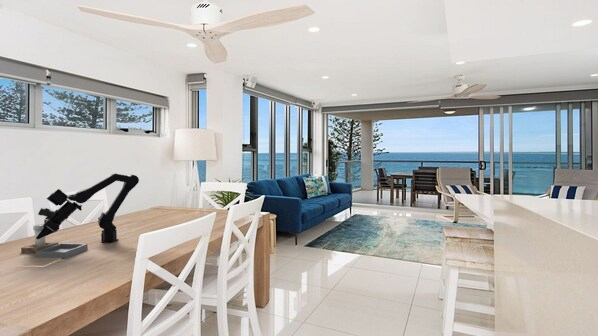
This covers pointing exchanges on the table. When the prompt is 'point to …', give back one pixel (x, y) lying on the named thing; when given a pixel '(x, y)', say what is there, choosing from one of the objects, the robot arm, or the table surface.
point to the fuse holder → (34, 249)
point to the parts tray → (62, 250)
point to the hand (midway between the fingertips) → (37, 236)
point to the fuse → (37, 229)
